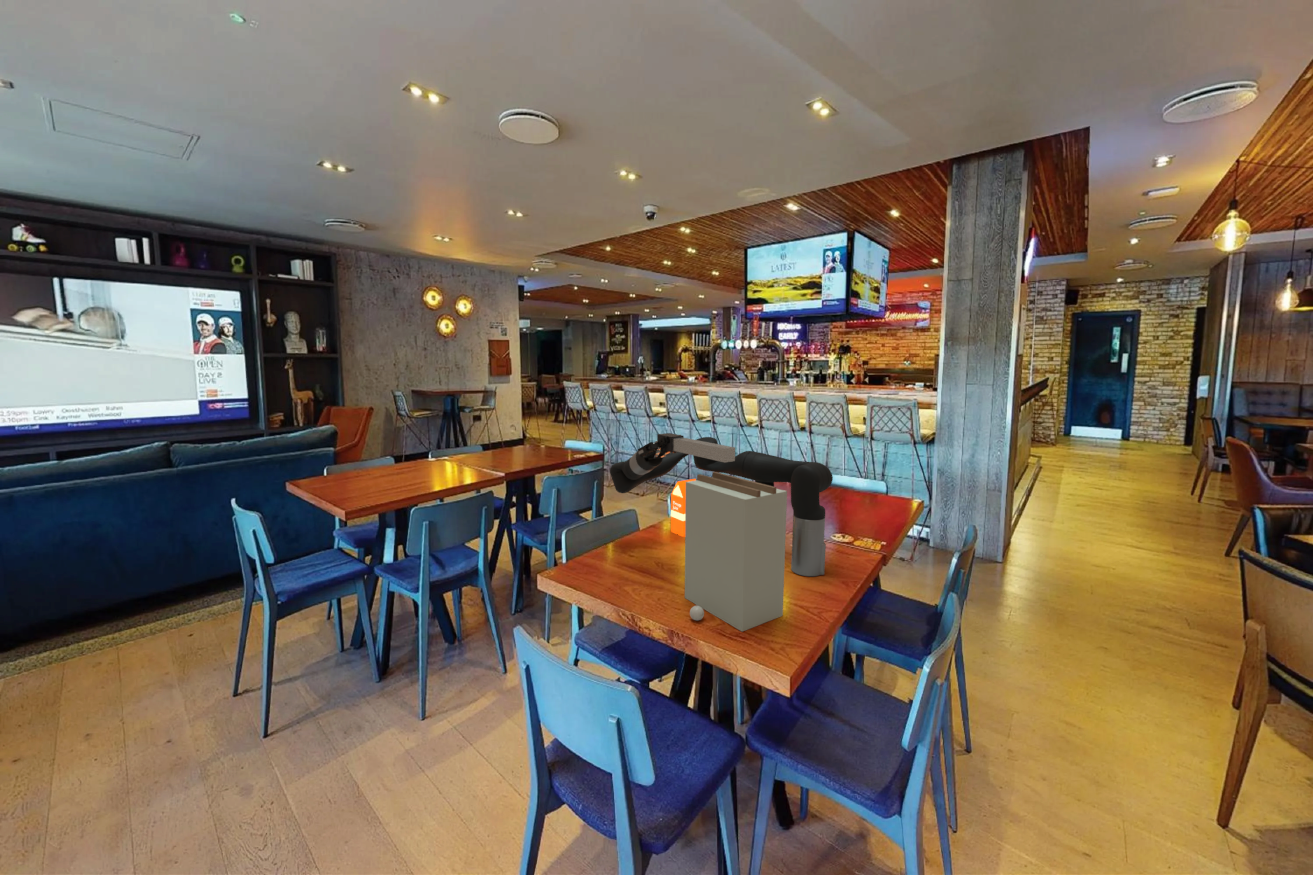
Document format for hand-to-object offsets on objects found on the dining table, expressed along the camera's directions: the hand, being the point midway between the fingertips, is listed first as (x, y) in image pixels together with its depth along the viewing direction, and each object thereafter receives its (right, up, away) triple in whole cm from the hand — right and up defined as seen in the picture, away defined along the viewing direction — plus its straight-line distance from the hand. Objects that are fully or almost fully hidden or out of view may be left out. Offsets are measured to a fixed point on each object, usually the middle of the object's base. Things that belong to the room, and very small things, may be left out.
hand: (673, 438), depth 152 cm
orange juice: (+6, -35, +45) cm, 58 cm away
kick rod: (+5, -5, -7) cm, 10 cm away
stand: (+15, -44, -15) cm, 49 cm away
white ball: (+5, -45, -22) cm, 50 cm away
